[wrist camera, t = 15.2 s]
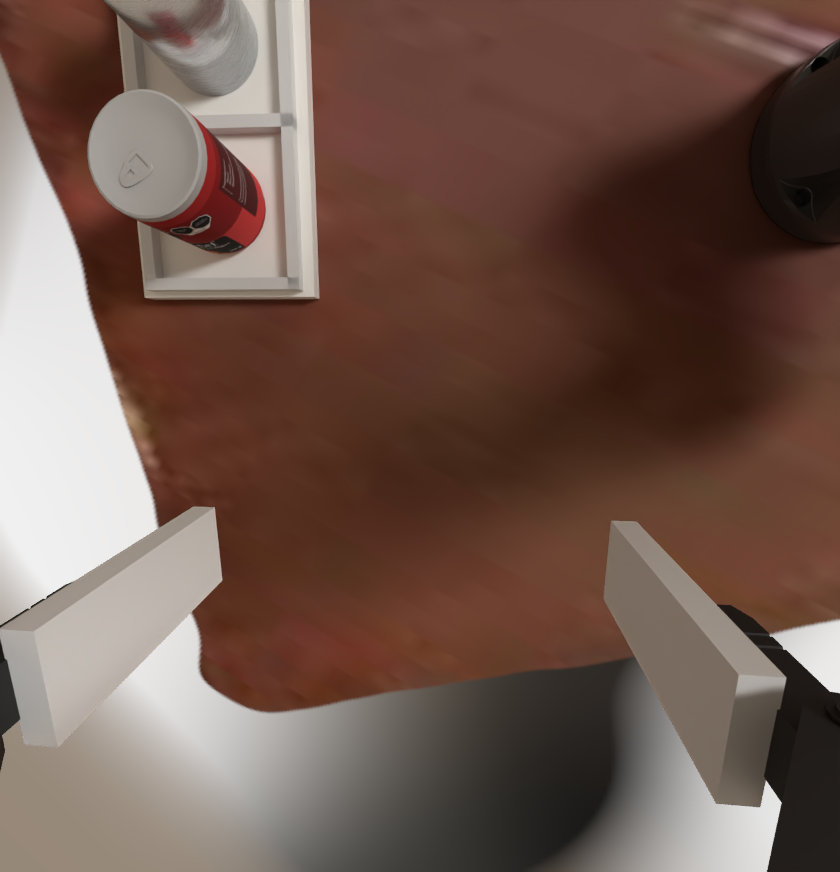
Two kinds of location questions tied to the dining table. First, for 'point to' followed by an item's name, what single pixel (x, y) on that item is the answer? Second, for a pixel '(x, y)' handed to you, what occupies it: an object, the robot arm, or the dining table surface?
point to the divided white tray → (259, 151)
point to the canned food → (173, 173)
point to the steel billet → (196, 39)
